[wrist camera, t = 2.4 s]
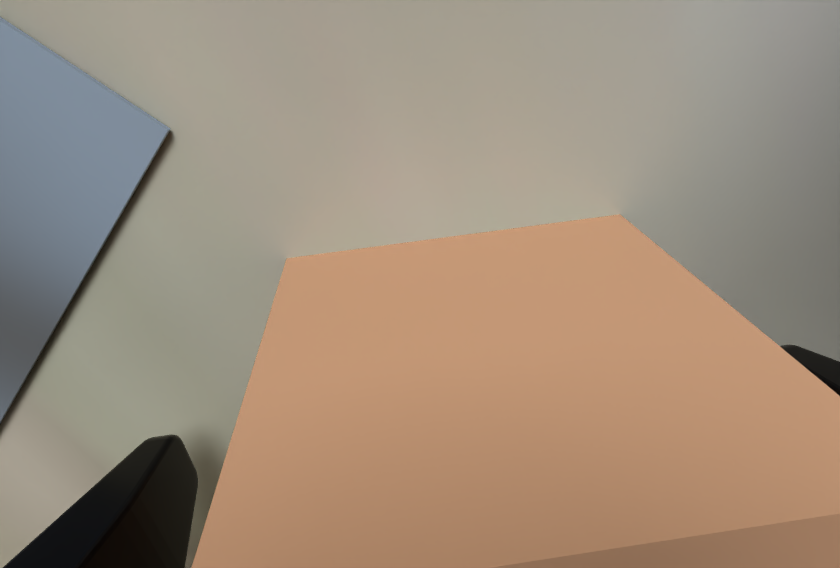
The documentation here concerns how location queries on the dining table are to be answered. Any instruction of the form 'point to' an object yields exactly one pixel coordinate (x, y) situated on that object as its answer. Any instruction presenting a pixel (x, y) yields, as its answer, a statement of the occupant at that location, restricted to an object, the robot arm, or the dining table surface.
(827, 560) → the cube
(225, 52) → the dining table surface
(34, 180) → the arena
